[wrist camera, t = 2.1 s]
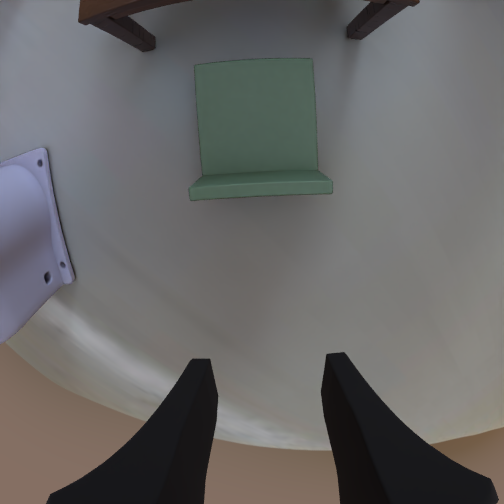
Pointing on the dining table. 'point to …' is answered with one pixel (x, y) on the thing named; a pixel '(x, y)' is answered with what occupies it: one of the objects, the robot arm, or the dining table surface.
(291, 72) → the chair
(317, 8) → the dining table surface
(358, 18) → the desk
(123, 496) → the robot arm
